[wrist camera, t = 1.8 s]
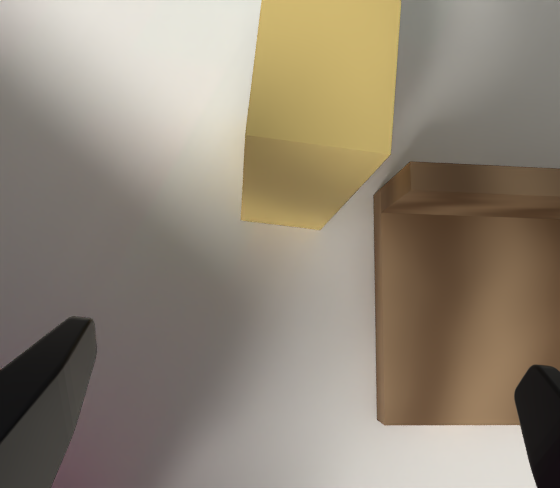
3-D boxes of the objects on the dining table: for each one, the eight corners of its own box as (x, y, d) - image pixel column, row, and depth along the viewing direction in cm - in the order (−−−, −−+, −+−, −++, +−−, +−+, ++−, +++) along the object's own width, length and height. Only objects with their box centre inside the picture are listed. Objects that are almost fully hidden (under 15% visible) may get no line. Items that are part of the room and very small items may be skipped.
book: (240, 220, 24) (245, 135, 13) (253, 116, 24) (267, -46, 14) (320, 230, 24) (390, 154, 13) (329, 126, 25) (403, -24, 14)
